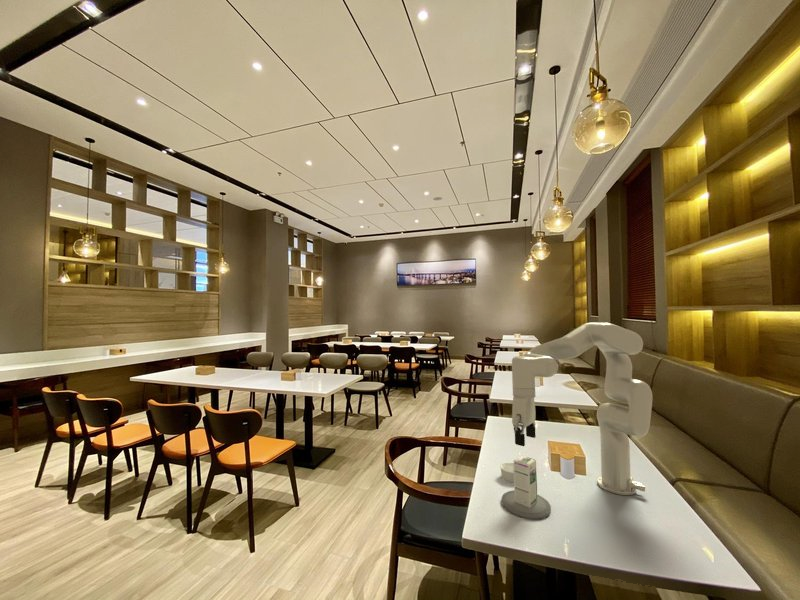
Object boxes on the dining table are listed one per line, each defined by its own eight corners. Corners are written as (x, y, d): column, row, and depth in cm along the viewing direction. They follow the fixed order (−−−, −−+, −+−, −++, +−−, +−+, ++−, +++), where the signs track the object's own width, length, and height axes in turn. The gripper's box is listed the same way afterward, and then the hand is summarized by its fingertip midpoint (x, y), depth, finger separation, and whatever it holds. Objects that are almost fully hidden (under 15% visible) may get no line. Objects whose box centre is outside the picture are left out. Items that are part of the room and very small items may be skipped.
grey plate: (557, 504, 116) (557, 501, 116) (541, 526, 104) (540, 522, 104) (512, 488, 126) (512, 485, 126) (493, 506, 115) (493, 502, 115)
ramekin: (525, 484, 130) (524, 473, 130) (501, 482, 132) (501, 471, 132) (521, 474, 138) (521, 463, 139) (499, 471, 140) (499, 461, 140)
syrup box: (530, 508, 111) (529, 464, 112) (513, 501, 115) (513, 459, 116) (537, 502, 115) (536, 459, 116) (521, 495, 119) (520, 454, 120)
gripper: (523, 386, 126) (524, 431, 125) (503, 394, 113) (504, 445, 112) (543, 388, 121) (545, 436, 120) (524, 398, 108) (526, 451, 107)
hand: (525, 440), depth 116 cm, fingers open, 9 cm apart
